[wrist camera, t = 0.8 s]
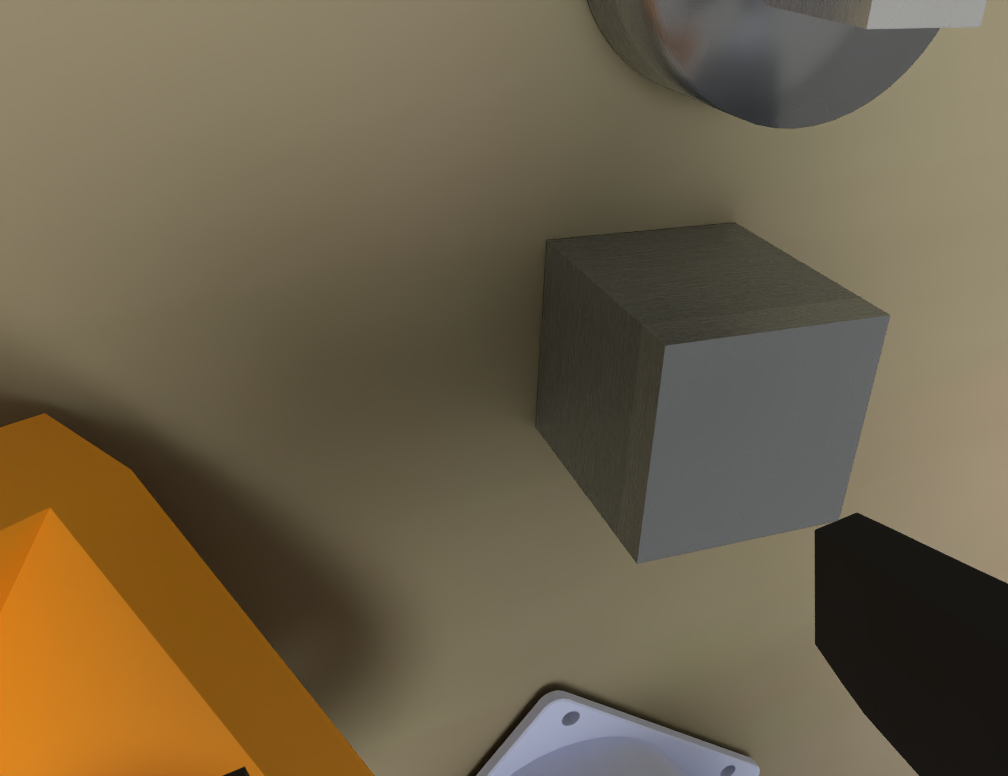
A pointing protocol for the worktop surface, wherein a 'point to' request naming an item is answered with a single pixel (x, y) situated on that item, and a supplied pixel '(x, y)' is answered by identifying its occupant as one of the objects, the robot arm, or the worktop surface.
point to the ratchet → (778, 50)
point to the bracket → (131, 635)
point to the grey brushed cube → (702, 384)
